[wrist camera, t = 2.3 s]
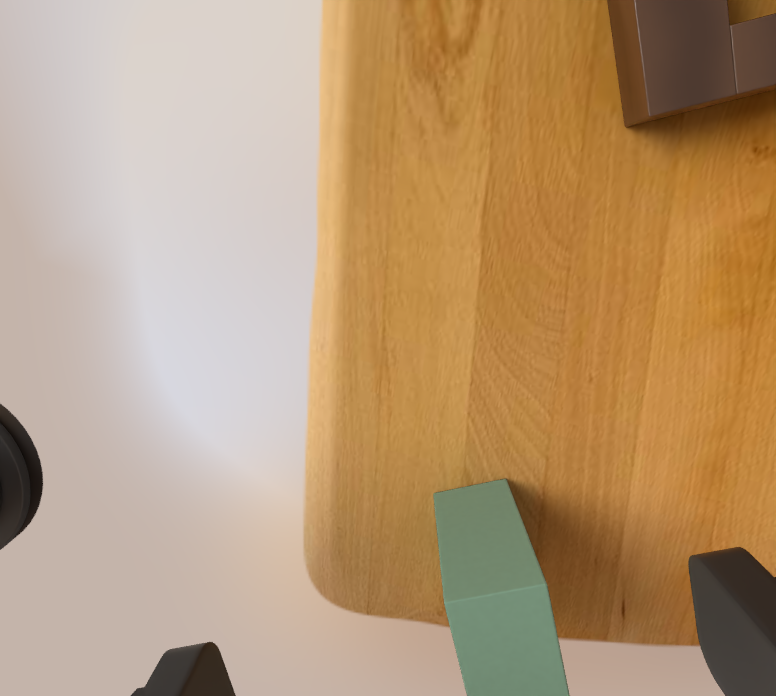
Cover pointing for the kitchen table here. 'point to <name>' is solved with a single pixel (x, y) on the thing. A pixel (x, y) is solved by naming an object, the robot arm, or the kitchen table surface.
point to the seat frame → (687, 56)
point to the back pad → (496, 595)
